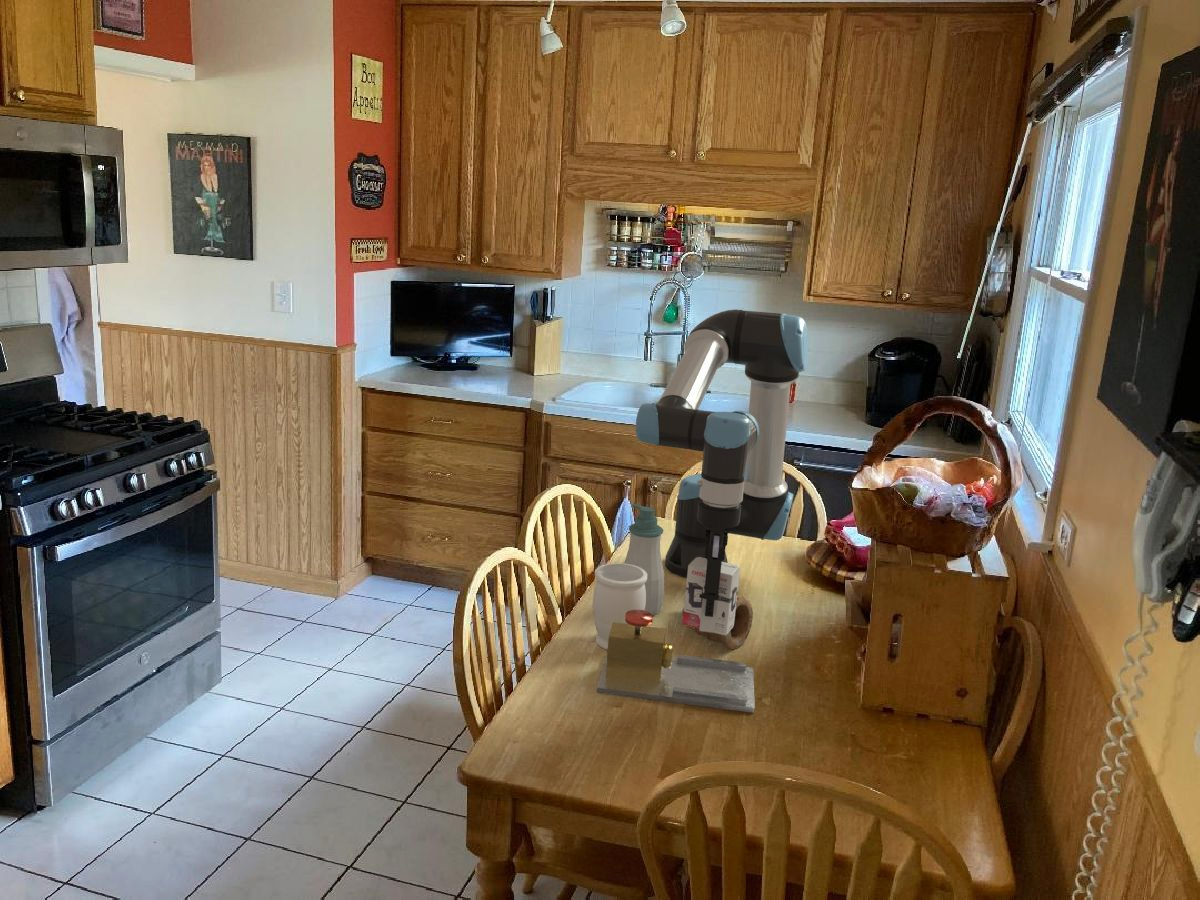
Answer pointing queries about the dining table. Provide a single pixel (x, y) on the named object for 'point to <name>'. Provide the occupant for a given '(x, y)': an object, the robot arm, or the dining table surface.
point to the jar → (616, 596)
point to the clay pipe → (740, 626)
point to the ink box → (726, 594)
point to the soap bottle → (648, 556)
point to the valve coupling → (670, 670)
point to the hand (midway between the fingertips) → (707, 622)
